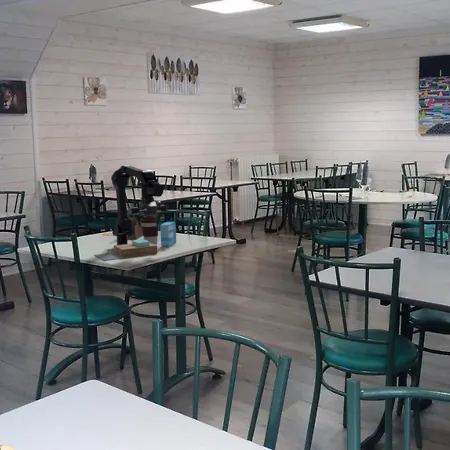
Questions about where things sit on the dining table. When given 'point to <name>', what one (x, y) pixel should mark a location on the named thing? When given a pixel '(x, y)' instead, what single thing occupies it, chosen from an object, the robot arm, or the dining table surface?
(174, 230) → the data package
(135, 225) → the letter holder
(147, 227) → the coffee cup
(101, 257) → the mat
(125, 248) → the brown flat block
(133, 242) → the teal foam pad
